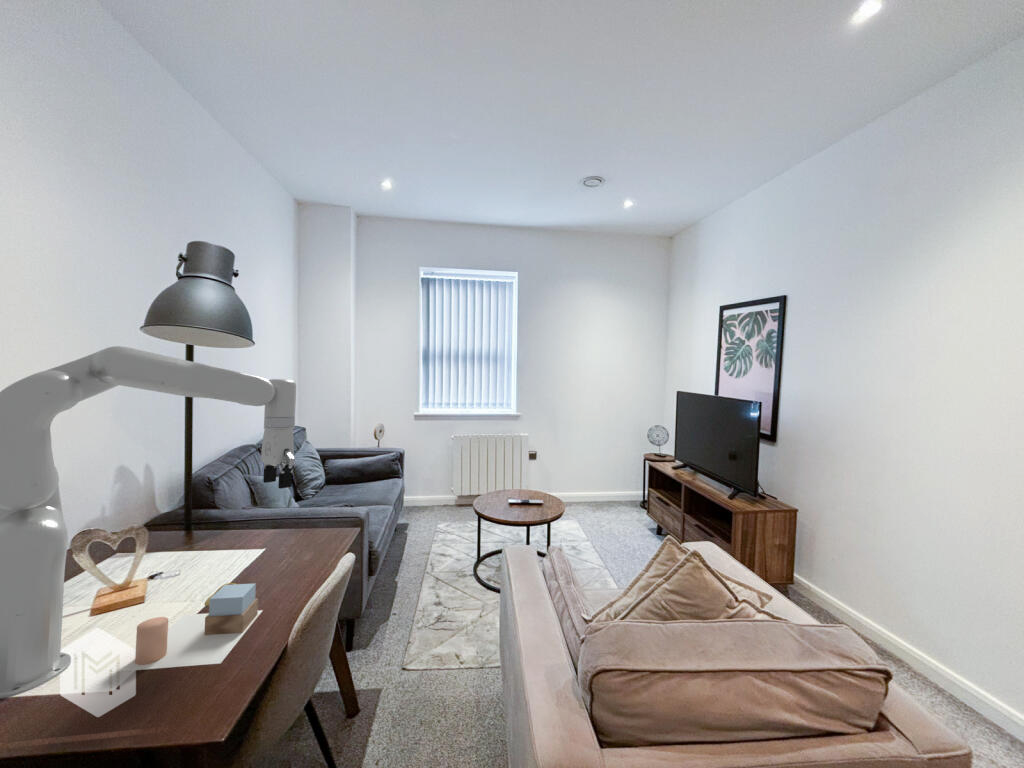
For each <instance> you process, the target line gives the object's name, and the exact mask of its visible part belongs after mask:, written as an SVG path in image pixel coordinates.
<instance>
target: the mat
mask: <svg viewBox="0 0 1024 768" xmlns="http://www.w3.org/2000/svg"><path fill="white" fill-rule="evenodd" d="M263 611H264V610H263V609H261V610H259V609H258V613H257V616H256V617H255V618H254V619H253V621H252V622H251V623H250V624H249V626H248V627H247V628H246V629H245V630H244V632H243V633H232V634H217V635H204V632H205V617H206V616H207V615H208V614H209V612H207V613H194V614H192V613H190V614H183V615H182V616H181V617H180V618H179V619H178V620H176V622H174V623H173V624H172V625H171V626H170V627H168V638H167V654H166V655H165V656H164V657H163V658H162V659H160V660H158V661H156V662H153V663H150V664H146V665H137V664H136V663H135V658H133V660H131V661H130V662H129V663H128V664H126V666H124V667H123V668H122V669H121V670H120V672H131V671H142V670H157V669H168V668H179V667H180V668H181V667H191V666H192V667H194V666H206V665H218V664H219V665H220V664H222V663H223V661H224V660H225V659H226V658H227V656H228V655H229V653H230V652H232V649H234V647H235V646H236V645H237V644H238V642H239V641H241V638H243V636H244V635H245V633H246V632H247V631H248V630H249V628H250V627H251V626H252V625H253V624H254V622H255V621H256V620H257V619H258V617H259V616H260V615H261V613H262V612H263Z"/></svg>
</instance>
